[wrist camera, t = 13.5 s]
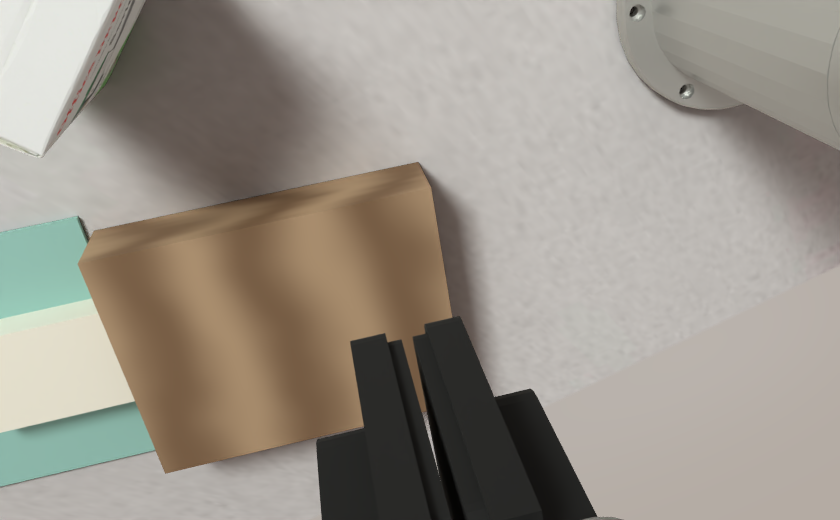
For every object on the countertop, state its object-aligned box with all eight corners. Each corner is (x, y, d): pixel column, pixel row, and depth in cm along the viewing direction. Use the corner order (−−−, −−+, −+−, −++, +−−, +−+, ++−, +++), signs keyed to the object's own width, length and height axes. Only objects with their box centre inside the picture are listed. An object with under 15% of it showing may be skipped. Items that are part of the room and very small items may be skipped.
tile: (115, 293, 43) (109, 311, 41) (150, 378, 46) (145, 398, 44) (-48, 329, 42) (-62, 349, 41) (-3, 414, 45) (-14, 436, 44)
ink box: (104, 91, 39) (42, 173, 28) (2, 40, 37) (-105, 106, 26) (179, -67, 36) (142, -43, 26) (73, -132, 34) (-14, -133, 24)
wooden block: (418, 162, 43) (431, 187, 40) (452, 364, 50) (466, 401, 46) (93, 230, 42) (77, 264, 38) (173, 429, 48) (165, 473, 45)
